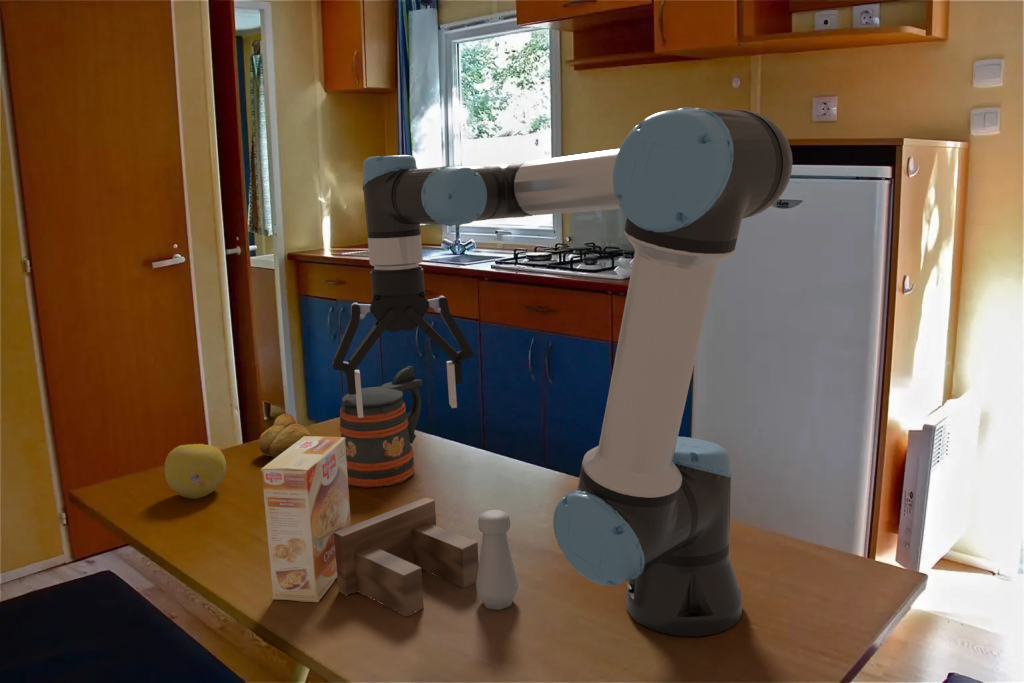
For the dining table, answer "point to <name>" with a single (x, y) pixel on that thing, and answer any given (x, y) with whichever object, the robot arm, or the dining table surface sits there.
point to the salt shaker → (495, 562)
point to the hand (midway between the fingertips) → (407, 410)
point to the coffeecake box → (305, 516)
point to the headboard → (402, 556)
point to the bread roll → (281, 435)
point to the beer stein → (381, 432)
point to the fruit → (195, 470)
